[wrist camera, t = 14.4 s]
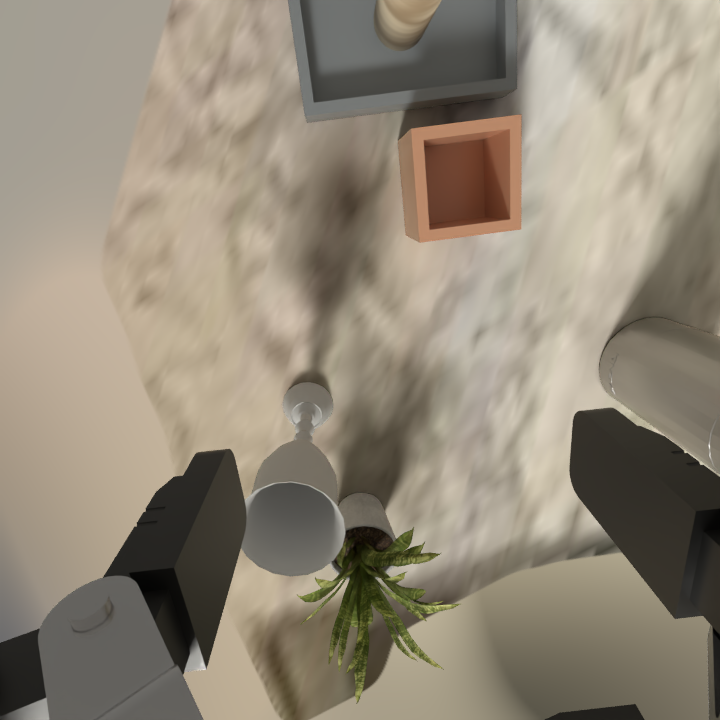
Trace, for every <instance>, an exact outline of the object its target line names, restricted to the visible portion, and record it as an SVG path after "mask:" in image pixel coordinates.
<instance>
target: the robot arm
mask: <svg viewBox="0 0 720 720" xmlns="http://www.w3.org/2000/svg"><path fill="white" fill-rule="evenodd" d="M599 374H600V380H601V383H602V385H603V387H604V389H605V390H606V392H607V393H608V394H609V395H610V396H612V397H613V398H614V399H616V400H617V401H618V402H620V403H621V404H623V405H624V406H625V407H627V408H628V409H629V410H631V411H632V412H634V413H635V414H636V415H638V416H639V417H640V418H642V419H643V420H645V421H646V422H647V423H649V424H650V425H652V426H653V427H654V428H656V429H657V430H658V431H660V432H661V433H663V434H664V435H665V436H667V437H668V438H670V439H671V440H672V441H674V442H675V443H677V444H678V445H679V446H681V447H682V448H684V449H685V450H686V451H688V452H689V453H691V454H692V455H693V456H695V457H696V458H698V459H699V460H700V461H702V462H703V463H705V464H706V465H707V466H709V467H710V468H712V469H713V470H714V471H716V472H717V473H719V474H720V337H719V336H717V335H714V334H711V333H708V332H705V331H703V330H700V329H697V328H694V327H688V326H685V325H683V324H680V323H677V322H674V321H671V320H668V319H665V318H658V317H652V318H645V319H641V320H638V321H635V322H633V323H631V324H629V325H628V326H626V327H624V328H623V329H622V330H621V331H619V332H618V333H617V334H616V335H615V336H614V337H613V338H612V339H611V340H610V342H609V343H608V345H607V346H606V348H605V350H604V352H603V355H602V357H601V361H600V366H599ZM665 436H663V435H660V434H658V433H656V432H653V431H651V430H648V429H646V428H644V427H641V426H637V425H635V424H634V423H633V422H632V421H630V420H629V419H628V418H626V417H625V416H624V415H622V414H621V413H620V412H619V411H617V410H616V409H614V408H603V409H594V410H585V411H578V412H577V413H576V414H575V416H574V419H573V428H572V442H571V455H570V478H571V482H572V486H573V488H574V490H575V492H576V494H577V496H578V497H579V498H580V500H581V501H582V502H583V504H584V505H585V506H586V507H587V509H588V510H589V511H590V512H591V514H592V515H593V516H594V517H595V519H596V520H597V521H598V522H599V524H600V525H601V526H602V527H603V529H604V530H605V531H606V533H607V534H608V535H609V536H610V538H611V539H612V540H613V541H614V543H615V544H616V545H617V546H618V548H619V549H620V550H621V551H622V553H623V554H624V555H625V556H626V558H627V559H628V560H629V562H630V563H631V564H632V565H633V567H634V568H635V569H636V570H637V572H638V573H639V574H640V575H641V577H642V578H643V579H644V581H645V582H646V583H647V584H648V586H649V587H650V588H651V589H652V591H653V592H654V593H655V594H656V596H657V597H658V598H659V599H660V601H661V602H662V603H663V604H664V606H665V607H666V608H667V610H668V611H669V612H670V613H671V614H672V616H673V617H674V618H675V619H678V618H686V617H695V616H704V617H705V618H706V620H707V621H708V622H709V623H710V629H709V633H708V639H707V642H708V643H707V644H708V700H709V720H720V477H719V476H718V475H716V474H715V473H714V472H712V471H711V470H710V469H708V468H707V467H706V466H704V465H700V464H699V461H697V460H696V459H695V458H693V457H692V456H691V455H689V454H688V453H684V450H683V449H681V448H680V447H679V446H677V445H676V444H674V443H673V442H672V441H670V440H669V439H668V438H666V437H665ZM246 521H247V515H246V505H245V500H244V496H243V491H242V487H241V483H240V478H239V474H238V470H237V465H236V461H235V457H234V454H233V452H232V451H231V450H230V449H224V450H215V451H206V452H198V453H196V454H195V455H194V457H193V459H192V461H191V463H190V464H189V466H188V468H187V470H186V471H185V473H184V475H183V476H176V477H173V478H172V479H171V480H170V481H168V483H166V484H165V485H164V486H163V487H162V488H160V489H159V490H158V491H157V492H156V493H155V495H154V496H153V498H152V499H151V501H150V503H149V504H148V506H147V508H146V512H144V513H143V514H142V516H141V517H140V519H139V521H138V522H137V527H134V528H133V530H132V532H131V533H130V535H129V536H128V538H127V540H126V541H125V543H124V545H123V546H122V548H121V549H120V551H119V553H118V554H117V556H116V557H115V559H114V561H113V562H112V564H111V566H110V567H109V569H108V570H107V572H106V574H105V575H104V577H103V578H100V579H97V580H95V581H92V582H90V583H88V584H85V585H84V586H82V587H80V588H78V589H76V590H75V591H73V592H72V593H70V594H69V595H67V596H66V597H65V598H64V599H62V600H61V601H60V602H59V603H58V604H57V605H56V606H55V607H54V608H53V609H52V610H51V611H50V613H49V614H48V615H47V617H46V618H45V620H44V621H43V623H42V625H41V627H40V629H37V630H35V631H32V632H29V633H27V634H23V635H21V636H18V637H15V638H12V639H10V640H7V641H4V642H1V643H0V720H203V718H202V715H201V713H200V711H199V709H198V707H197V705H196V703H195V701H194V698H193V696H192V694H191V692H190V690H189V688H188V685H187V683H186V681H185V679H184V677H183V674H184V672H189V671H197V670H206V669H207V665H208V662H209V658H210V655H211V651H212V648H213V644H214V641H215V637H216V634H217V630H218V626H219V623H220V620H221V616H222V612H223V609H224V605H225V602H226V598H227V595H228V591H229V588H230V584H231V581H232V577H233V573H234V570H235V566H236V563H237V559H238V556H239V552H240V549H241V545H242V542H243V538H244V534H245V530H246ZM545 720H644V718H643V716H642V715H641V713H640V711H639V710H638V708H637V706H636V705H635V704H633V705H624V706H615V707H606V708H599V709H589V710H580V711H571V712H562V713H558V714H556V715H554V716H552V717H550V718H548V719H545Z"/></svg>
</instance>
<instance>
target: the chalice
mask: <svg viewBox="0 0 720 720" xmlns="http://www.w3.org/2000/svg"><path fill="white" fill-rule="evenodd" d="M283 410H284V413H285V415H286V417H287V418H288V419H289V421H290V422H291V423H292V424H293V425H294V426H295V431H296V433H297V434H296V435H295V437H294V441H291V442H289V443H286V444H284V445H282V446H280V447H279V448H278V449H277V450H275V451H274V452H273V453H272V454H271V455H270V456H269V457H268V458H266V459H265V460H264V461H263V463H262V465H261V467H260V468H259V470H258V473H257V476H256V480H255V483H254V487H253V490H252V494H251V495H250V496H249V497H248V498H247V499H245V505H246V515H247V521H246V530H245V534H244V538H243V542H242V545H241V548H242V550H243V551H244V553H245V554H246V556H247V557H248V558H249V559H251V560H252V561H253V562H254V563H255V564H256V565H257V566H259V567H261V568H263V569H265V570H267V571H270V572H272V573H274V574H280V575H286V576H299V575H308V574H310V573H313V572H316V571H318V570H321V569H323V568H324V567H325V566H327V565H328V564H329V563H330V562H332V561H333V560H334V559H335V558H336V556H337V555H338V553H339V551H340V550H341V548H342V546H343V542H344V538H345V525H344V518H343V516H342V515H341V513H340V511H339V509H338V494H337V479H336V474H335V472H334V470H333V468H332V466H331V464H330V463H329V461H328V459H327V458H326V456H325V455H324V454H323V453H322V452H321V451H320V450H319V449H318V448H317V447H316V446H315V445H314V444H313V443H312V440H313V439H312V436H311V435H313V433H314V430H315V429H316V428H318V427H319V426H321V425H322V424H323V423H325V422H326V421H327V420H328V419H329V417H330V416H331V414H332V410H333V400H332V398H331V396H330V393H329V392H328V391H327V390H326V389H325V388H324V387H322V386H320V385H318V384H316V383H311V382H304V383H299V384H297V385H294V386H293V387H292V388H290V389H289V390H288V391H287V393H286V394H285V396H284V399H283Z"/></svg>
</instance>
